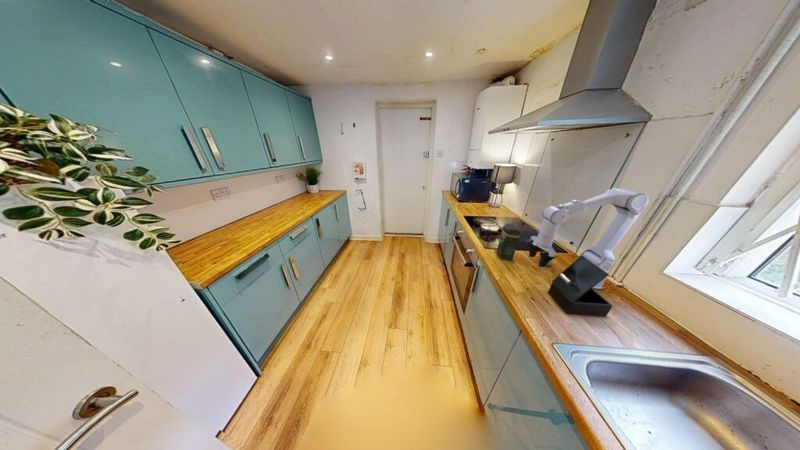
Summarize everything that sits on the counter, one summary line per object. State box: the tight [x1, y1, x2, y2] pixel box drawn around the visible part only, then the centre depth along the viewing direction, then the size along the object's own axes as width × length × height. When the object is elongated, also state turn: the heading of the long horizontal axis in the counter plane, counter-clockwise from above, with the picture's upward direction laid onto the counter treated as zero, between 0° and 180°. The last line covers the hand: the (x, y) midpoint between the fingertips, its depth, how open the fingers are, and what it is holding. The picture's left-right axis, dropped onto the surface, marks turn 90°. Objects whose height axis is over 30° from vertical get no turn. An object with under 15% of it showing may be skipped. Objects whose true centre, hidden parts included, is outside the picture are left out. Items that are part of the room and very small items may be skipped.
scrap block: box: [537, 254, 554, 266], centre depth 105 cm, size 4×4×4 cm
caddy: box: [547, 282, 613, 318], centre depth 79 cm, size 14×11×6 cm
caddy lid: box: [551, 255, 610, 303], centre depth 74 cm, size 15×11×5 cm
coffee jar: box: [496, 223, 522, 261], centre depth 107 cm, size 10×8×19 cm
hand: (536, 261), depth 88 cm, fingers open, 7 cm apart
